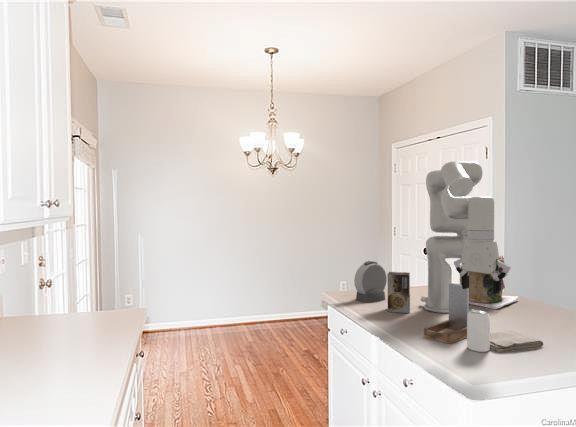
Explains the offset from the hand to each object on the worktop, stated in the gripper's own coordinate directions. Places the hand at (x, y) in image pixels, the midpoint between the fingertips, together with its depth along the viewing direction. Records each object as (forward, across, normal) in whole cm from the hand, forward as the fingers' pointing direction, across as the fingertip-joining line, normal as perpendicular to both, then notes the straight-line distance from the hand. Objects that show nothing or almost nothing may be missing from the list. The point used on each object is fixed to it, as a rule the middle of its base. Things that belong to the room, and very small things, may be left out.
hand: (480, 290), depth 129 cm
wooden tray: (+18, -13, +6) cm, 23 cm away
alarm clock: (+18, -65, +26) cm, 73 cm away
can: (+19, -1, 0) cm, 19 cm away
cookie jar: (+18, -30, +64) cm, 73 cm away
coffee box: (+18, -44, +19) cm, 52 cm away
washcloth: (+19, +3, +12) cm, 22 cm away
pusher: (+17, -13, +11) cm, 25 cm away
